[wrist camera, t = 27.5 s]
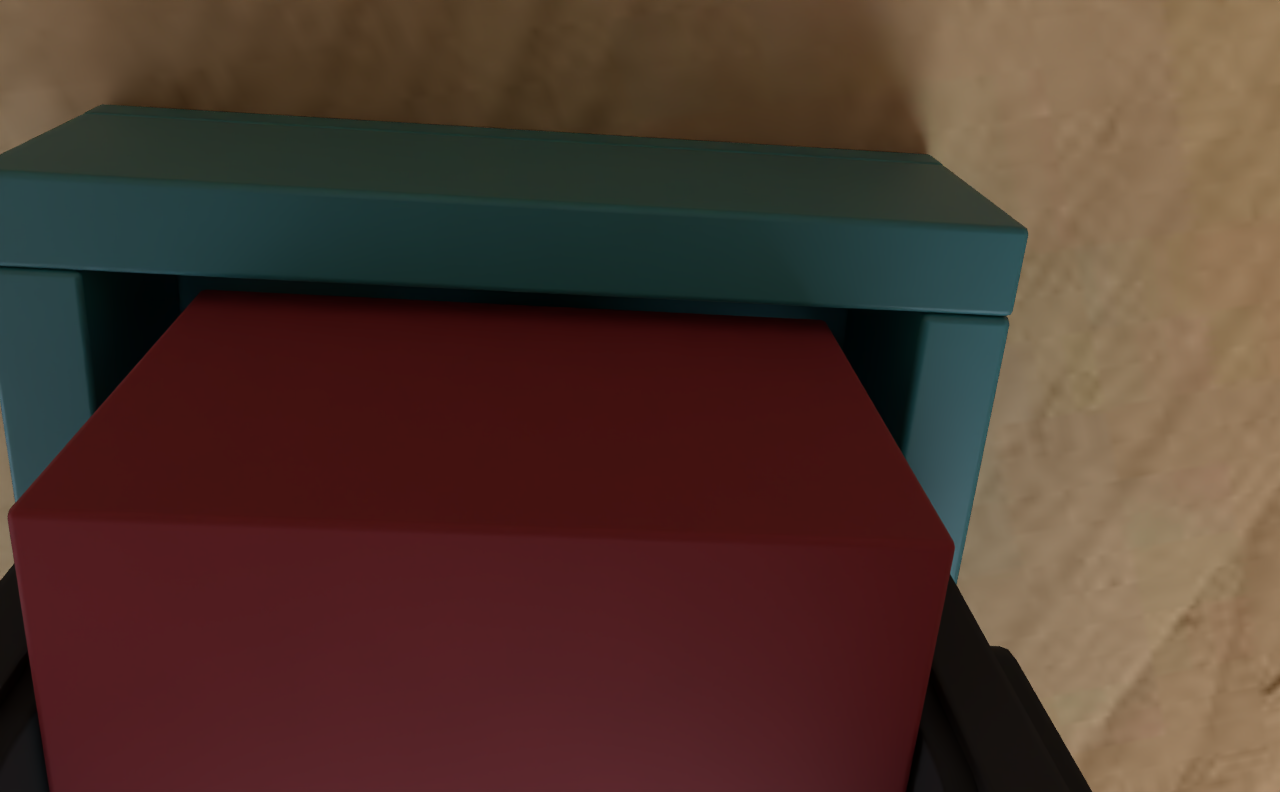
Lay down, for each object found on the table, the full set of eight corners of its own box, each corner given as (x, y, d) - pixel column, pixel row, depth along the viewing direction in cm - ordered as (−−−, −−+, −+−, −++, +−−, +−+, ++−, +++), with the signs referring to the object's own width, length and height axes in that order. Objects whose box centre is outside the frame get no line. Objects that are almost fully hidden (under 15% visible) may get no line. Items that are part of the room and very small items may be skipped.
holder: (99, 103, 12) (-37, 170, 9) (931, 153, 13) (1033, 228, 10) (201, 1101, 18) (135, 1324, 15) (774, 1098, 19) (810, 1311, 16)
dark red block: (201, 287, 10) (1, 512, 7) (826, 318, 11) (960, 545, 7) (240, 827, 13) (109, 1210, 9) (753, 833, 13) (826, 1200, 10)
